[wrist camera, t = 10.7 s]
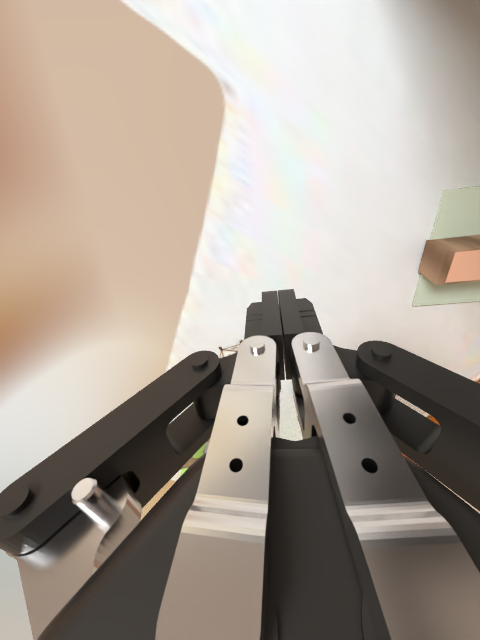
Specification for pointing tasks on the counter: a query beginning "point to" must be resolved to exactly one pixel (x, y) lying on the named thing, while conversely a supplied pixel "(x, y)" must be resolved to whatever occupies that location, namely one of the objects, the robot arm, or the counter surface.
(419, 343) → the counter surface
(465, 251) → the walnut block
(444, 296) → the mat
